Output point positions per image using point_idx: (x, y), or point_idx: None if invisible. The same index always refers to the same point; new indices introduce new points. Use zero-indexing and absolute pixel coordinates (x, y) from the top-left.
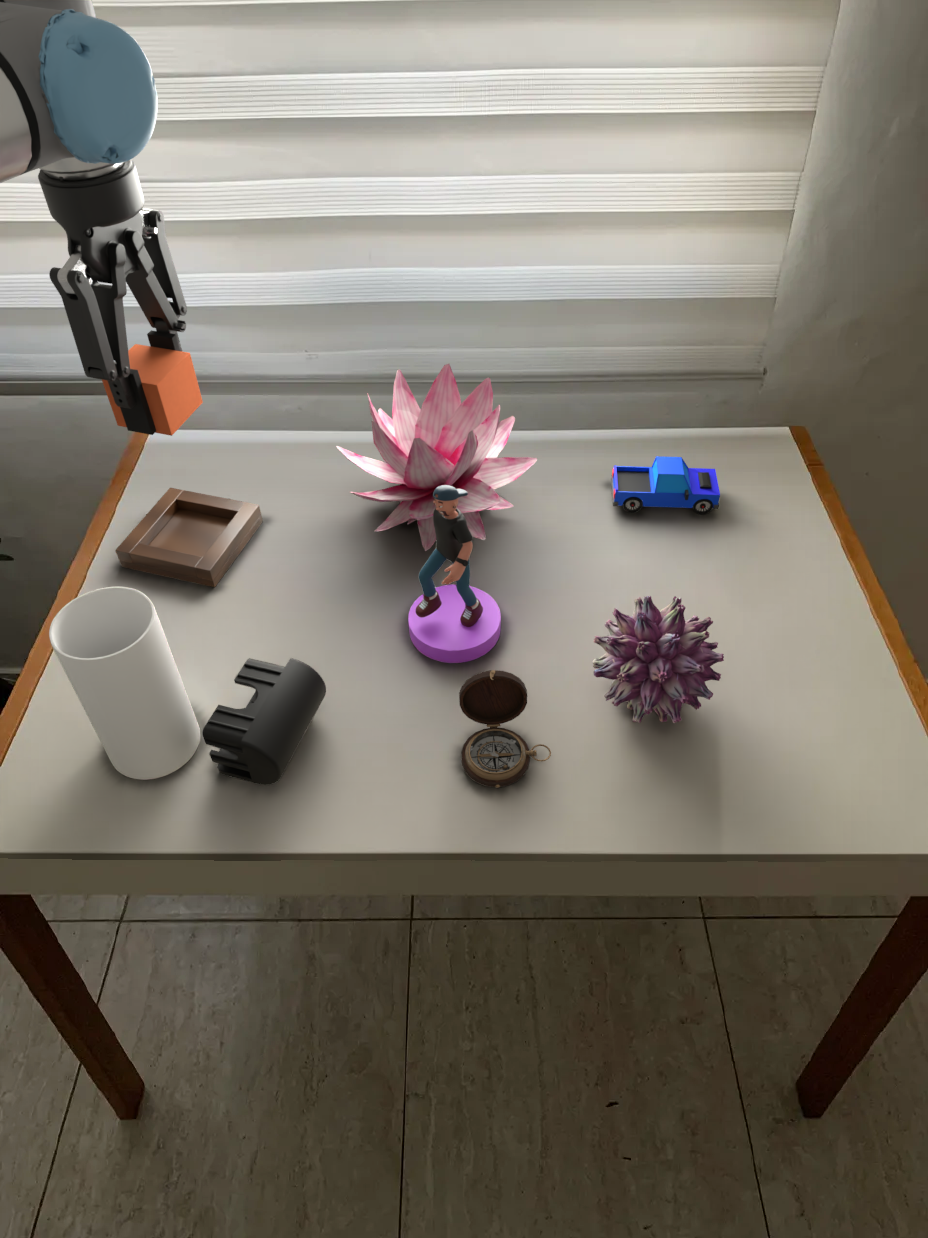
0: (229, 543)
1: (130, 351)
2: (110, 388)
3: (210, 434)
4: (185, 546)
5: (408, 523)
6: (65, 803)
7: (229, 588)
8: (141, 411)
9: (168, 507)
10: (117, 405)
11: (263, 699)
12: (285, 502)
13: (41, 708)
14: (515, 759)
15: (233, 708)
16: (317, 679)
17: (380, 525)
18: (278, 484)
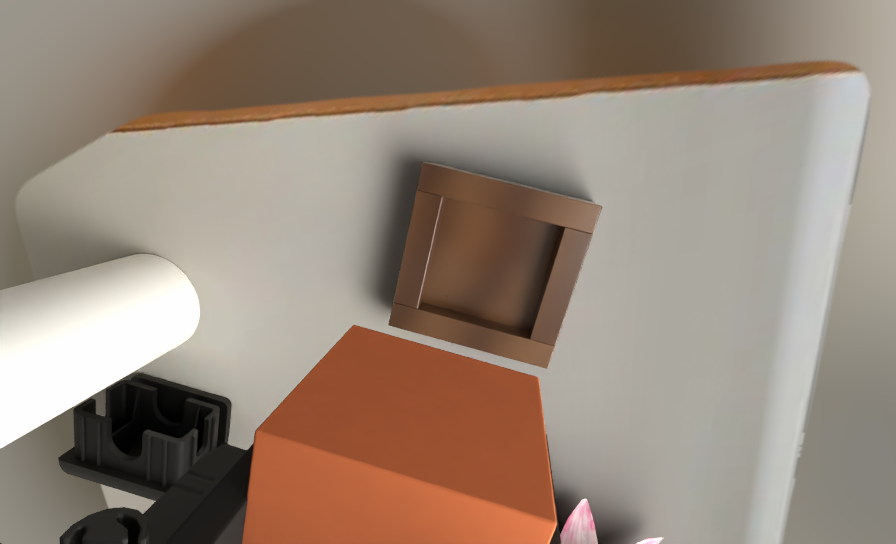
0: (449, 341)
1: (478, 514)
2: (154, 504)
3: (830, 209)
4: (465, 260)
5: None
6: (65, 229)
7: (397, 332)
8: None
9: (541, 220)
10: (217, 448)
11: (126, 466)
12: (593, 378)
13: (165, 148)
14: None
15: (105, 439)
16: None
17: None
18: (643, 361)
